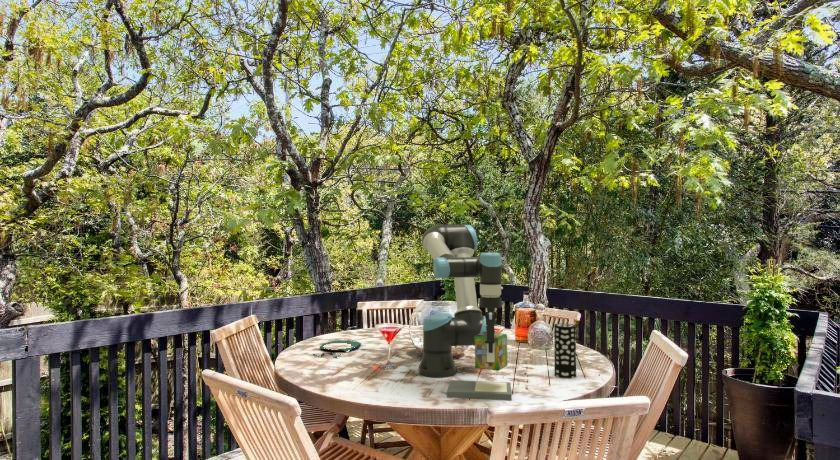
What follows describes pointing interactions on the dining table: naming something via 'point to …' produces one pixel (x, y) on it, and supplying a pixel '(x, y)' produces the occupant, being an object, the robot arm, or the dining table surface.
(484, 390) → the slate board
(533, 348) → the dining table surface
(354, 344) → the green piece
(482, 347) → the chalk box
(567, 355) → the white-spotted black cylinder
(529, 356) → the dining table surface
